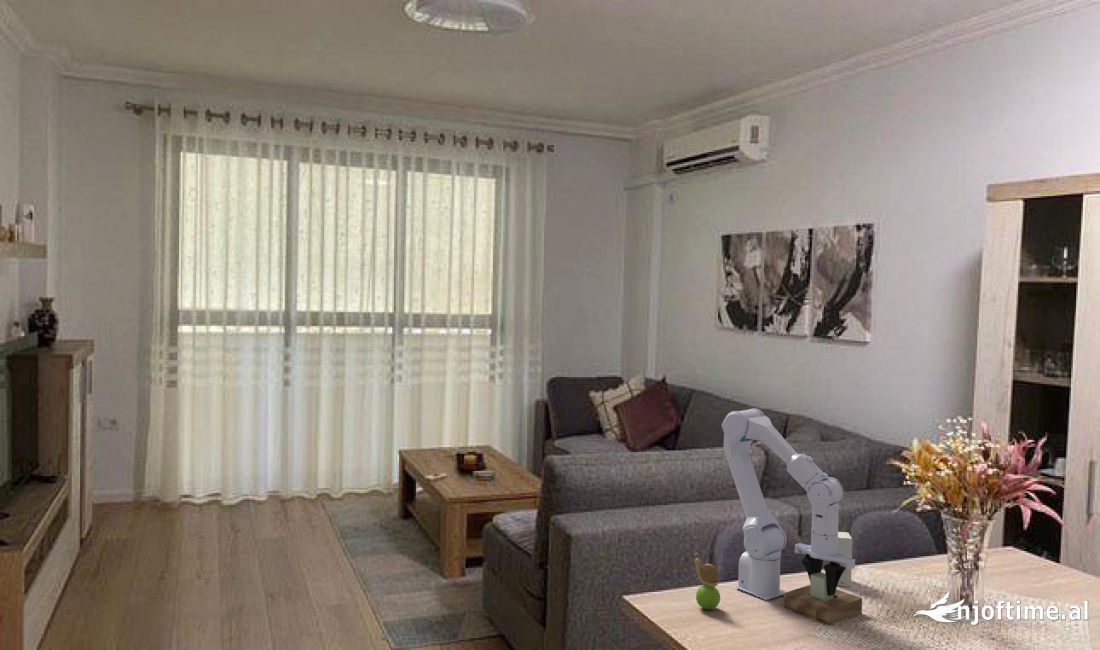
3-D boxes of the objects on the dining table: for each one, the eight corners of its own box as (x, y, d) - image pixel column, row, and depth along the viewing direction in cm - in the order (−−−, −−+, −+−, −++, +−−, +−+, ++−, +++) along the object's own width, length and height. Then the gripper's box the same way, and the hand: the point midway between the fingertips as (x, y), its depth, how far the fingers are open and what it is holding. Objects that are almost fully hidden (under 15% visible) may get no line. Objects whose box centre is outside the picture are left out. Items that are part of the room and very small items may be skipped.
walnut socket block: (784, 607, 187) (784, 592, 186) (816, 597, 194) (816, 582, 194) (829, 625, 177) (829, 609, 177) (861, 613, 184) (862, 598, 184)
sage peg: (809, 601, 185) (810, 574, 185) (819, 597, 187) (820, 571, 187) (823, 606, 182) (824, 579, 182) (833, 602, 184) (833, 576, 184)
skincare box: (851, 587, 201) (852, 538, 200) (833, 585, 202) (834, 537, 201) (847, 578, 207) (848, 532, 206) (830, 577, 208) (831, 530, 207)
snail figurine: (701, 601, 190) (702, 550, 190) (724, 609, 185) (725, 556, 185) (687, 607, 186) (688, 555, 186) (711, 615, 182) (712, 562, 181)
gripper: (787, 527, 188) (785, 585, 189) (842, 543, 176) (840, 605, 177) (806, 523, 192) (804, 580, 193) (861, 538, 181) (859, 598, 181)
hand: (823, 591), depth 185 cm, fingers closed on sage peg, 3 cm apart
